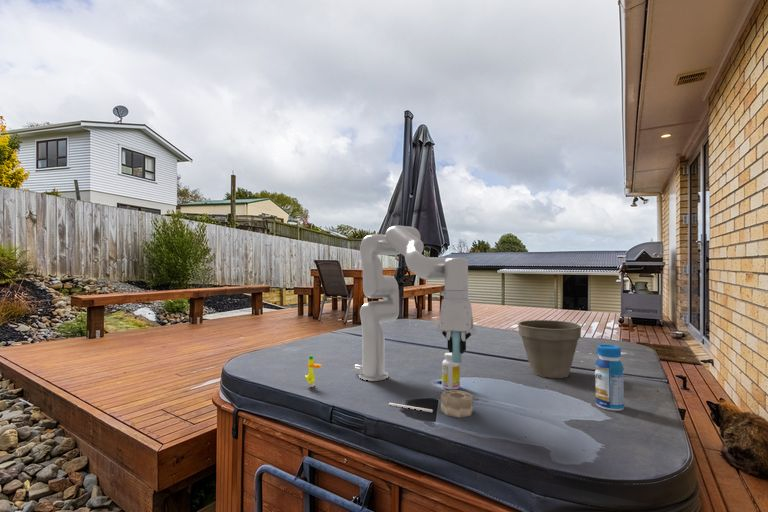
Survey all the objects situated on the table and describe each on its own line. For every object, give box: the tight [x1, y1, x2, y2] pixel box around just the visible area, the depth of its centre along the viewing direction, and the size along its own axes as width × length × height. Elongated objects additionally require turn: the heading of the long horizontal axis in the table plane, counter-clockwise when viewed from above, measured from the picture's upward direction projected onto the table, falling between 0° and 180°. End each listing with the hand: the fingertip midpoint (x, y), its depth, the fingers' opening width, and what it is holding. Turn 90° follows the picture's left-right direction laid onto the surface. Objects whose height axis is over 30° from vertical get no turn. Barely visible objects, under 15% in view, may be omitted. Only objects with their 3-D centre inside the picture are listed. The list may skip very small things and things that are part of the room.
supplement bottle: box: [441, 352, 461, 391], centre depth 142 cm, size 7×7×13 cm
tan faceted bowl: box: [440, 389, 474, 418], centre depth 119 cm, size 10×10×5 cm
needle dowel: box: [451, 331, 463, 364], centre depth 120 cm, size 3×3×12 cm
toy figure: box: [304, 354, 322, 386], centre depth 142 cm, size 7×4×12 cm, turn 81°
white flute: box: [388, 402, 434, 413], centre depth 121 cm, size 15×1×1 cm, turn 67°
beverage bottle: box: [594, 344, 625, 412], centre depth 123 cm, size 8×8×20 cm
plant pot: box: [517, 319, 582, 379], centre depth 161 cm, size 25×25×22 cm
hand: (456, 351), depth 120 cm, fingers closed on needle dowel, 3 cm apart
